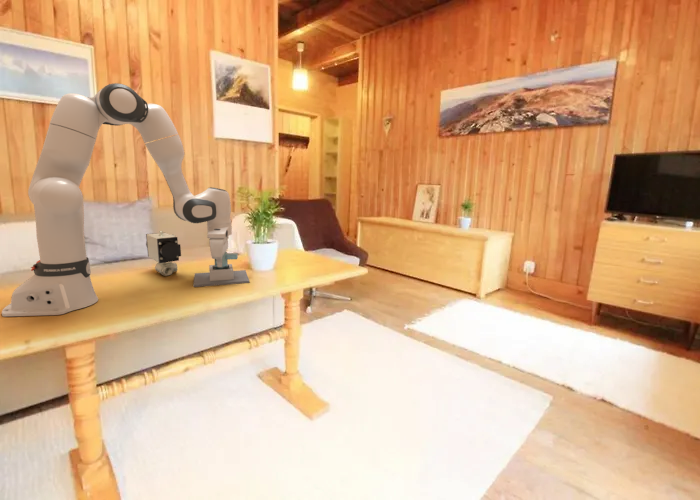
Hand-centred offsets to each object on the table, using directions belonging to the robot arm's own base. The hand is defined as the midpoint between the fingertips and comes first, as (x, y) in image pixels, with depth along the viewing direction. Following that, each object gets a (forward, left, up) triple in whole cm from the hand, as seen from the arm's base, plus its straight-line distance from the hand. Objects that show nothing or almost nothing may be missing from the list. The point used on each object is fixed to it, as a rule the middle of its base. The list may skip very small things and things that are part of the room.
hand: (221, 264), depth 140 cm
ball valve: (-21, +13, -6) cm, 26 cm away
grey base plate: (0, 0, -6) cm, 6 cm away
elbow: (+2, 0, -4) cm, 5 cm away
